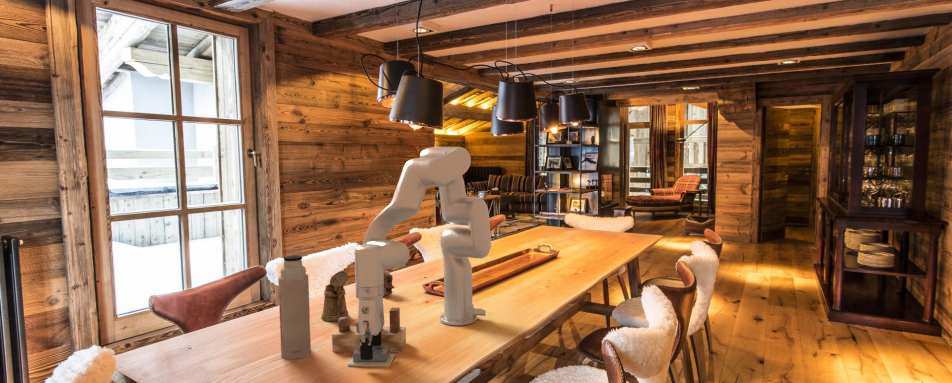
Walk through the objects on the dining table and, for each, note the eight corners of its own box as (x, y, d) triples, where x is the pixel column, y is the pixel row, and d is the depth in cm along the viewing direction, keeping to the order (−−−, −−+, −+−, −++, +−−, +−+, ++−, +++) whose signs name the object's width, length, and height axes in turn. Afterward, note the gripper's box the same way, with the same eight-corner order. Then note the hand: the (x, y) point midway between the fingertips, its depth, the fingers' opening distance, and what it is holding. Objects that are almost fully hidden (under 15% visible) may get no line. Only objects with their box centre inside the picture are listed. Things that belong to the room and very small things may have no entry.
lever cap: (389, 355, 141) (389, 344, 141) (386, 362, 136) (385, 350, 136) (357, 355, 141) (357, 344, 141) (353, 362, 137) (352, 350, 136)
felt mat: (394, 356, 142) (394, 354, 142) (388, 366, 135) (388, 364, 135) (355, 355, 142) (355, 353, 142) (347, 366, 135) (347, 364, 135)
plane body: (406, 343, 152) (405, 305, 151) (401, 352, 145) (400, 312, 144) (340, 342, 153) (339, 305, 152) (332, 351, 146) (331, 312, 145)
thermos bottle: (277, 359, 140) (273, 259, 138) (285, 348, 148) (282, 253, 146) (307, 358, 141) (303, 258, 139) (313, 347, 149) (310, 253, 147)
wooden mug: (328, 327, 166) (326, 273, 165) (318, 316, 178) (317, 265, 177) (355, 322, 171) (353, 269, 169) (344, 312, 182) (342, 262, 181)
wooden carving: (367, 292, 209) (366, 268, 208) (377, 290, 212) (376, 266, 211) (388, 300, 196) (387, 275, 195) (398, 298, 199) (397, 273, 198)
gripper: (375, 299, 128) (377, 365, 130) (390, 282, 146) (391, 340, 147) (346, 299, 129) (348, 365, 130) (364, 282, 146) (366, 340, 147)
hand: (371, 352), depth 138 cm, fingers open, 9 cm apart
